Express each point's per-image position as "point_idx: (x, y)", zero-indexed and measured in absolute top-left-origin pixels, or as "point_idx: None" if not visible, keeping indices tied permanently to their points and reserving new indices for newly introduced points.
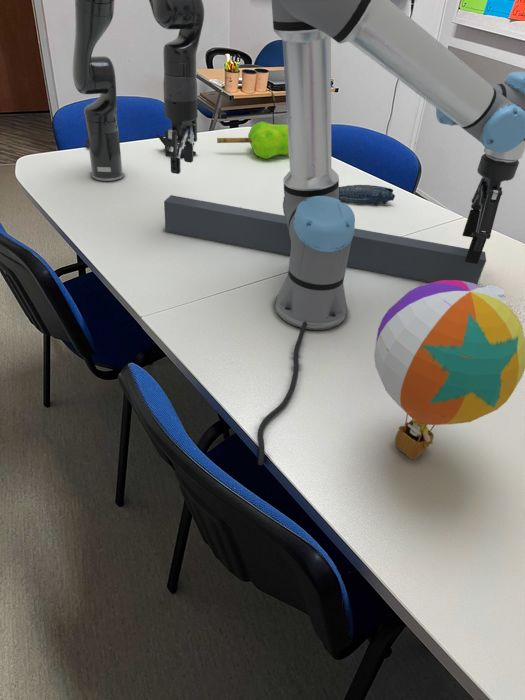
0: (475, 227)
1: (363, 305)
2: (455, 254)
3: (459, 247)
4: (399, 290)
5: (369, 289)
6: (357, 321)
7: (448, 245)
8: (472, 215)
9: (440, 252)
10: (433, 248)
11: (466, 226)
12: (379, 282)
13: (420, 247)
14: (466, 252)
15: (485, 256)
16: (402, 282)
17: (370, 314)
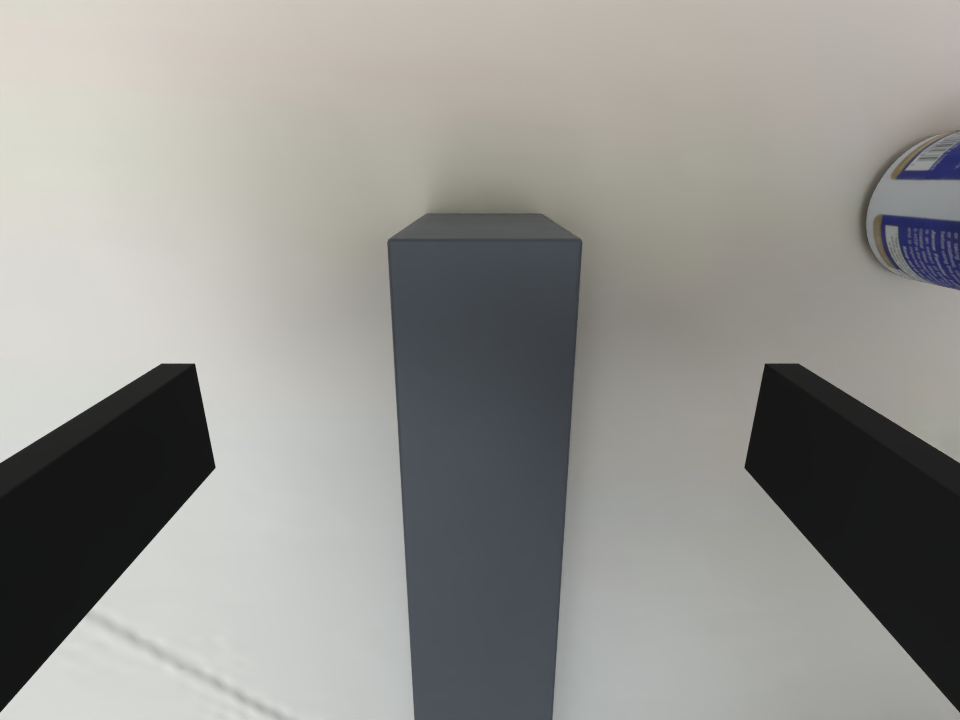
0: (125, 436)
1: (826, 700)
2: (564, 501)
3: (406, 465)
4: (661, 586)
5: (688, 691)
6: (949, 709)
7: (410, 546)
8: (26, 627)
9: (558, 596)
10: (519, 643)
11: (153, 527)
12: (613, 662)
13: (540, 715)
14: (483, 413)
15: (497, 242)
16: (579, 578)
17: (892, 674)
